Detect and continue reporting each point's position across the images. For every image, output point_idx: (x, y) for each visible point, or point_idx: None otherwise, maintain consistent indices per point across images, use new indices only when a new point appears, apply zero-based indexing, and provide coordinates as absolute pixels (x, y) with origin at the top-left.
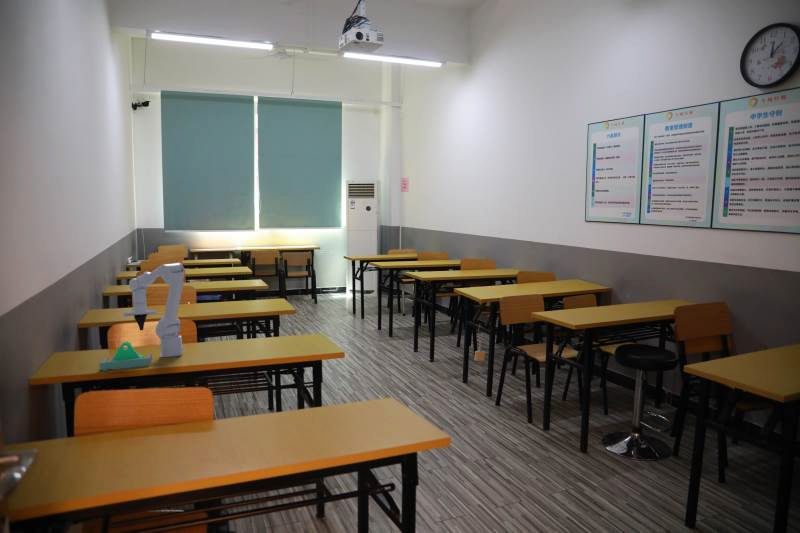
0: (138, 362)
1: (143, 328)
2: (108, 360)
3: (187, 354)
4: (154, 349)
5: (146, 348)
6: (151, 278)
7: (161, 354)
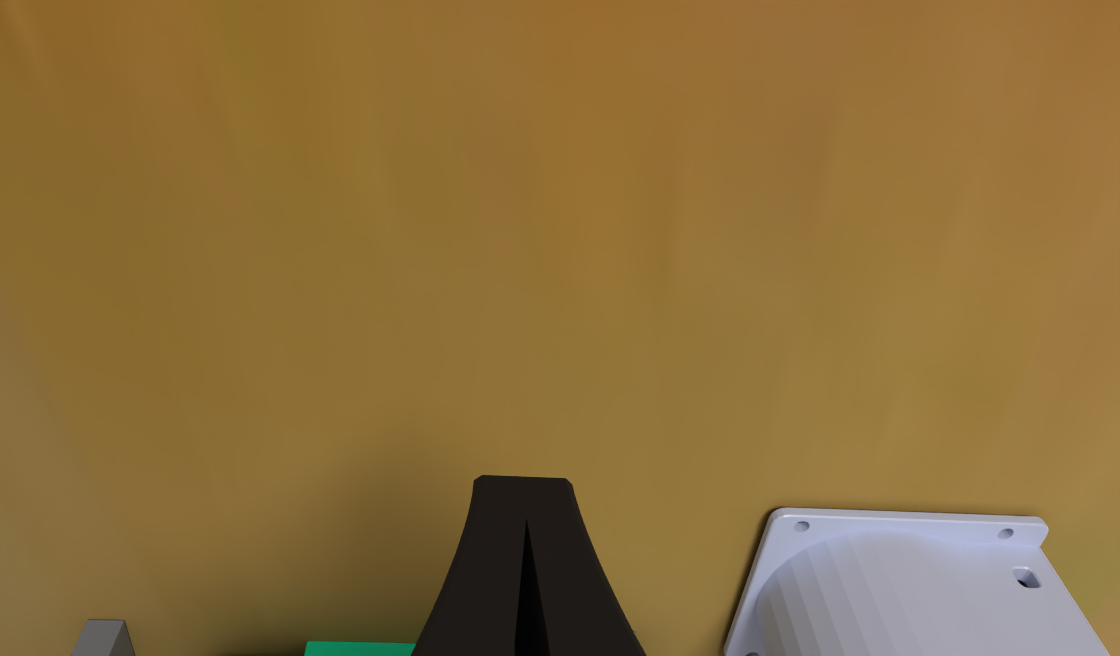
0: None
1: (575, 505)
2: (114, 647)
3: None
4: (716, 201)
5: (575, 32)
6: None
7: (756, 611)
